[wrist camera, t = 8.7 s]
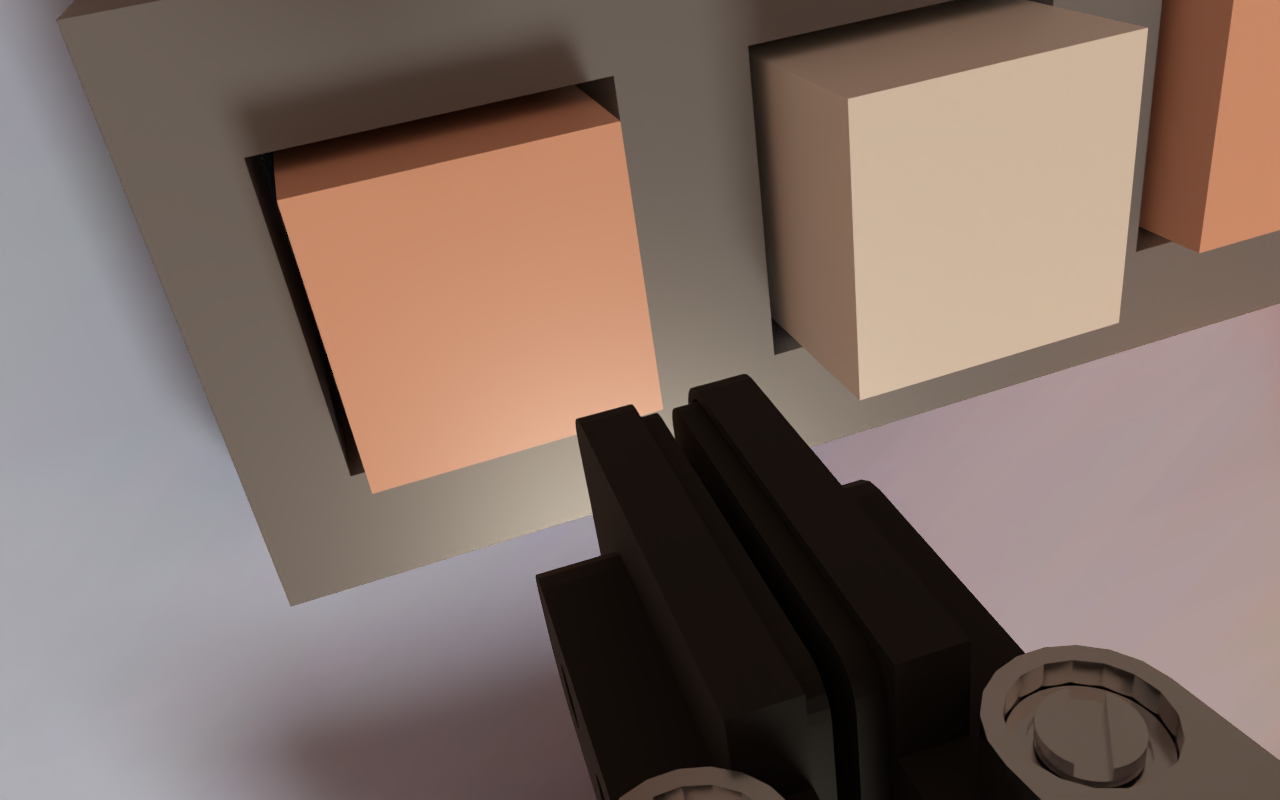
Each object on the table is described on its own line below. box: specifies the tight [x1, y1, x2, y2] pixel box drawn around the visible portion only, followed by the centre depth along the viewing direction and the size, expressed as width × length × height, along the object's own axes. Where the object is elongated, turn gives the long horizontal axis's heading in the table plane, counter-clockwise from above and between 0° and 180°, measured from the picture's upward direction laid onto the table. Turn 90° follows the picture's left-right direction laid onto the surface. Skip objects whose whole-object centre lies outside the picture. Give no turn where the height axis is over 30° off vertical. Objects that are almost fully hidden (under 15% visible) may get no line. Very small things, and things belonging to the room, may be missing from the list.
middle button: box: [748, 0, 1148, 400], centre depth 17 cm, size 4×4×4 cm
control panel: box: [56, 0, 1280, 606], centre depth 18 cm, size 22×9×3 cm, turn 98°
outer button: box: [273, 85, 663, 494], centre depth 16 cm, size 4×4×4 cm
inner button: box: [1139, 0, 1280, 253], centre depth 19 cm, size 4×4×4 cm
